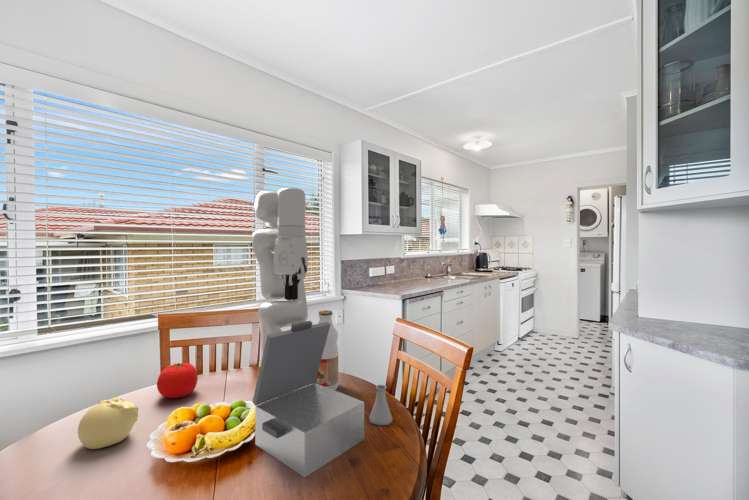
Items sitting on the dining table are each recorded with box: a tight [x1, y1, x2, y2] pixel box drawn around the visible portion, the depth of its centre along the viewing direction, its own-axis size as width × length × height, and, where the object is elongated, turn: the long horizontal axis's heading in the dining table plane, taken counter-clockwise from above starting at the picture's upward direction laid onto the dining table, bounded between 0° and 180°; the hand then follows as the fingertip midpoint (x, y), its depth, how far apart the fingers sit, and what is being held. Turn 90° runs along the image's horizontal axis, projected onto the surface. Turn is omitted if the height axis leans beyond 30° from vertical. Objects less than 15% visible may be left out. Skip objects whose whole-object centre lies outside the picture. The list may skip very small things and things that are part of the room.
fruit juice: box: [313, 309, 339, 391], centre depth 125 cm, size 9×9×28 cm
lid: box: [252, 320, 331, 406], centre depth 95 cm, size 22×20×4 cm
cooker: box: [254, 383, 365, 478], centre depth 90 cm, size 20×25×10 cm
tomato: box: [156, 362, 199, 399], centre depth 118 cm, size 12×13×11 cm
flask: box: [368, 384, 394, 426], centre depth 102 cm, size 7×7×10 cm
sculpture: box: [77, 396, 139, 450], centre depth 90 cm, size 11×12×11 cm
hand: (291, 299), depth 95 cm, fingers closed
